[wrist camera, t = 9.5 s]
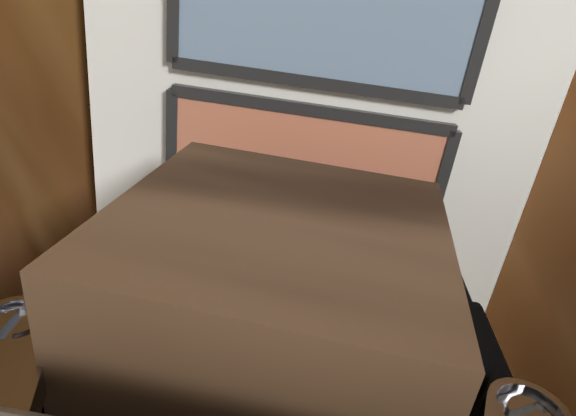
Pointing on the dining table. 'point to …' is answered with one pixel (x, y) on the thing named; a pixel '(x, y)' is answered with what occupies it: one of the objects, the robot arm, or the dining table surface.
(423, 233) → the walnut block
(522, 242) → the dining table surface
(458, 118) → the picture card
